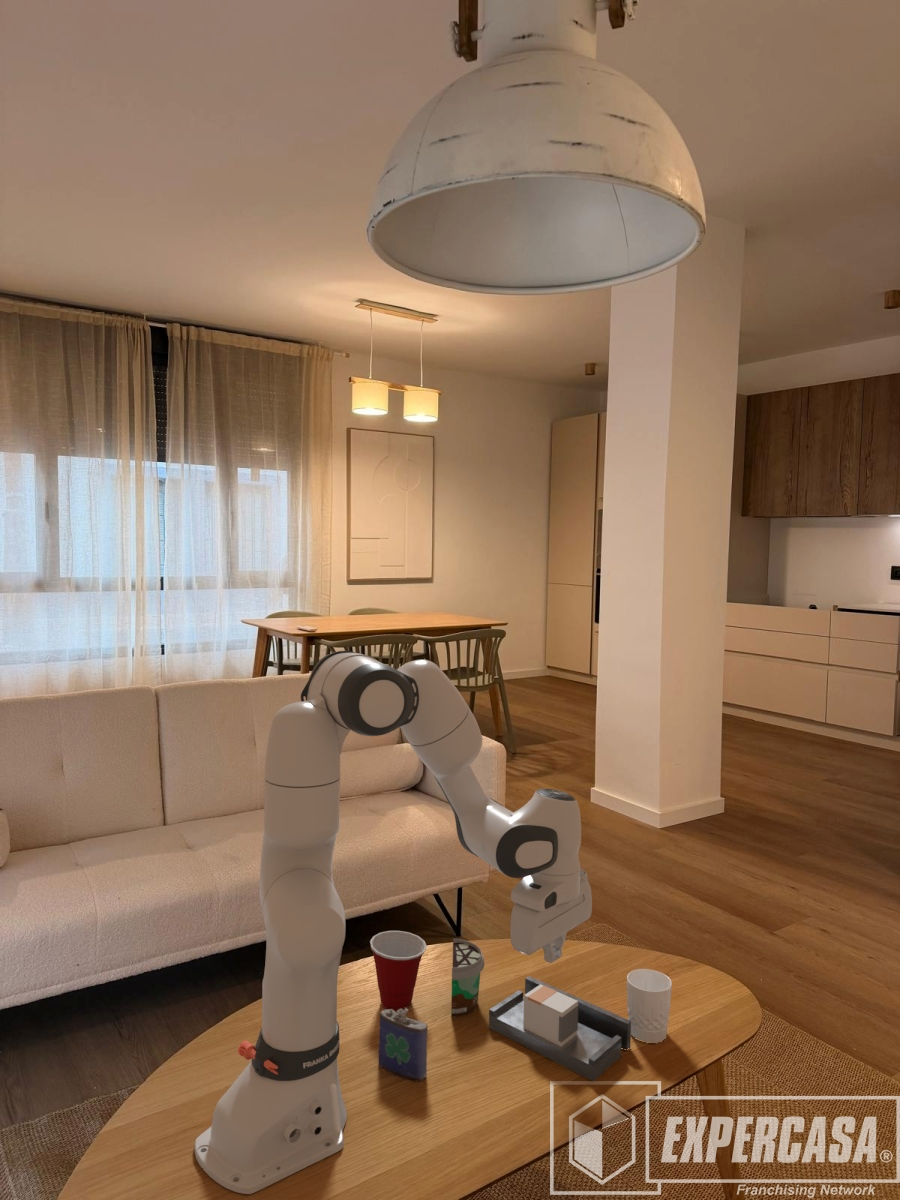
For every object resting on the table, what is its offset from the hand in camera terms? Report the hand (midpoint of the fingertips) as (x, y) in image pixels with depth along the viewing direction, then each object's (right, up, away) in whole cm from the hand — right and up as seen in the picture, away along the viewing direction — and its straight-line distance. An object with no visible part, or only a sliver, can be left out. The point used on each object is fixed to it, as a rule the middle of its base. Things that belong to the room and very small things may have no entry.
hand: (552, 959), depth 143 cm
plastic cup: (-28, -14, +13) cm, 34 cm away
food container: (-15, -15, +14) cm, 25 cm away
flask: (-26, -16, -7) cm, 31 cm away
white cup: (+18, -16, +5) cm, 24 cm away
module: (0, -13, +1) cm, 13 cm away
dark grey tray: (+1, -15, +3) cm, 16 cm away
